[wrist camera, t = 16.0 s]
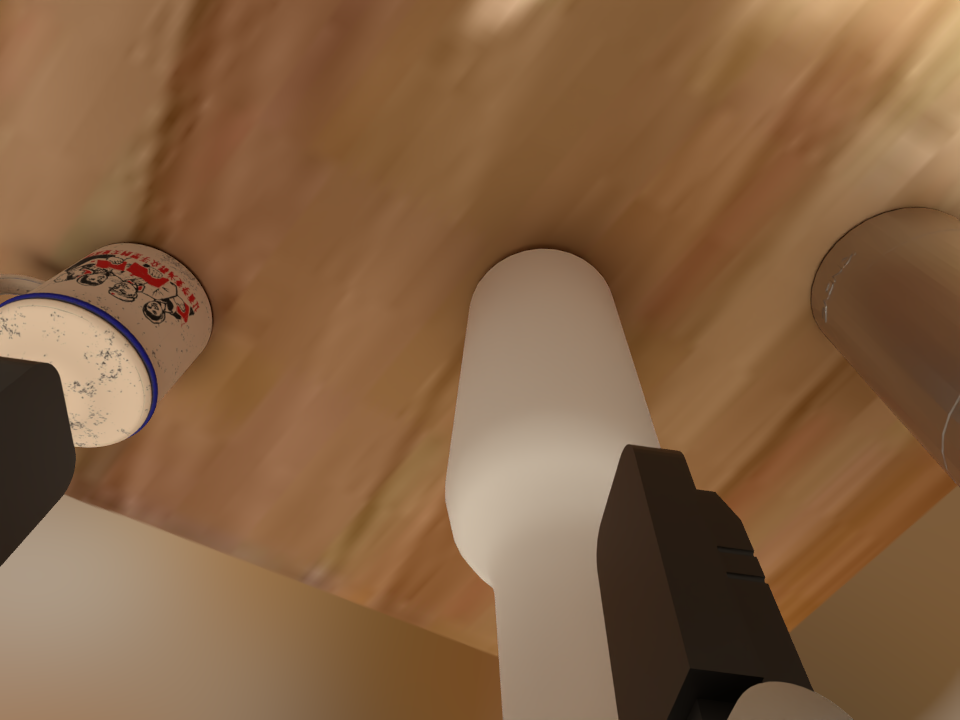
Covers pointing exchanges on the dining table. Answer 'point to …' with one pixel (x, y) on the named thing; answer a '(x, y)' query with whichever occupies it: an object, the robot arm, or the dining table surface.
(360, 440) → the dining table surface
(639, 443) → the alcohol
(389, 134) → the dining table surface
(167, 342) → the teacup with lid
